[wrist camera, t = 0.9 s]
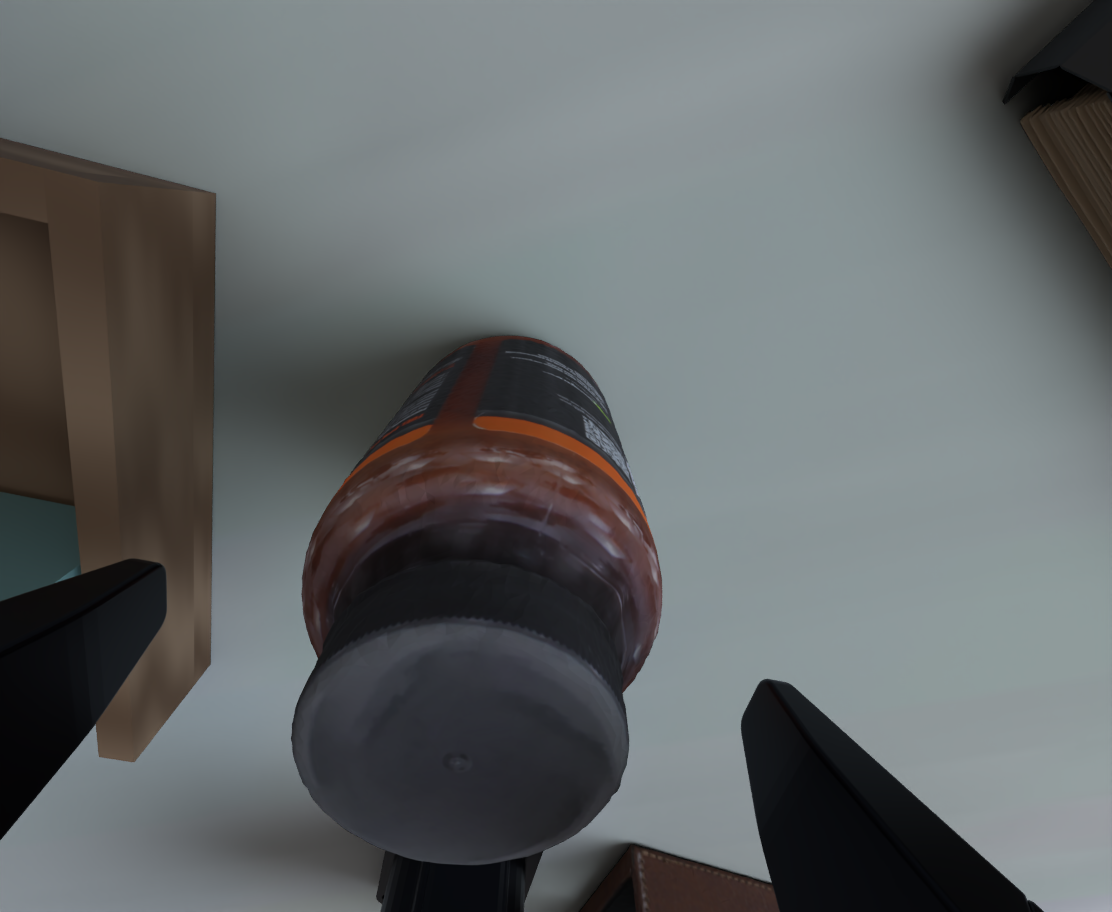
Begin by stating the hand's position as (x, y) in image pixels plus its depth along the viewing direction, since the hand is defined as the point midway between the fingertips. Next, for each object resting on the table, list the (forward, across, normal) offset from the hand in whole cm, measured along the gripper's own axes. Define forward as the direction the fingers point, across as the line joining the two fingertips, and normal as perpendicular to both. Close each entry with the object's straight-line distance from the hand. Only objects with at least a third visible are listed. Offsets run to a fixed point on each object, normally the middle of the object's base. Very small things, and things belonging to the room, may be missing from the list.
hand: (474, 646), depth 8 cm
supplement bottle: (+10, 0, 0) cm, 10 cm away
